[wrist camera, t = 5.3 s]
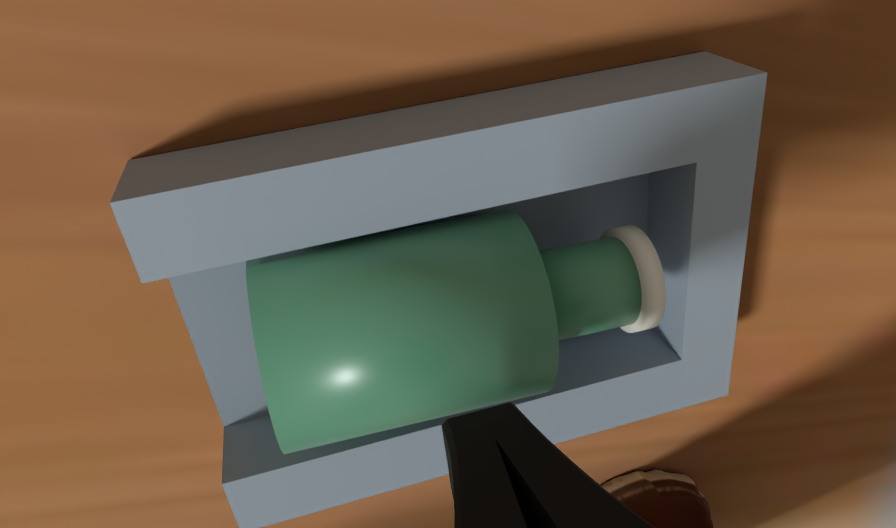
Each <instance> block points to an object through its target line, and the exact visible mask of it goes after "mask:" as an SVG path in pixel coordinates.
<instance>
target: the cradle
mask: <svg viewBox="0 0 896 528" xmlns="http://www.w3.org/2000/svg"><path fill="white" fill-rule="evenodd" d="M766 81H767V72H764V71H762V70H759V69H756V68H753V67H750V66H747V65H744V64H741V63H738V62H736V61H733V60H730V59H727V58H724V57H721V56H718V55H715V54H712V53H710V52H707V51H704V52H698V53H693V54H688V55H682V56H677V57H672V58H667V59H661V60H656V61H651V62H645V63H640V64H635V65H630V66H624V67H619V68H614V69H608V70H603V71H598V72H592V73H587V74H582V75H577V76H571V77H566V78H561V79H555V80H550V81H545V82H540V83H534V84H529V85H524V86H518V87H513V88H508V89H502V90H497V91H492V92H487V93H481V94H476V95H471V96H465V97H460V98H455V99H450V100H444V101H439V102H434V103H428V104H423V105H418V106H412V107H407V108H402V109H397V110H391V111H386V112H381V113H375V114H370V115H365V116H360V117H354V118H349V119H344V120H338V121H333V122H328V123H322V124H317V125H312V126H307V127H301V128H296V129H291V130H285V131H280V132H275V133H270V134H264V135H259V136H254V137H248V138H243V139H238V140H232V141H227V142H222V143H217V144H211V145H206V146H201V147H195V148H190V149H185V150H180V151H174V152H169V153H164V154H158V155H153V156H148V157H142V158H137V159H132V160H128V162H127V164H126V167H125V169H124V171H123V173H122V176H121V178H120V180H119V183H118V185H117V187H116V190H115V192H114V194H113V196H112V199H111V201H110V205H111V207H112V210H113V212H114V215H115V217H116V220H117V222H118V225H119V227H120V230H121V232H122V235H123V237H124V240H125V242H126V245H127V247H128V250H129V252H130V255H131V257H132V260H133V262H134V265H135V267H136V270H137V272H138V275H139V278H140V280H141V283H147V282H151V281H156V280H161V279H165V278H169V281H170V283H171V286H172V289H173V291H174V294H175V297H176V299H177V302H178V305H179V307H180V310H181V313H182V316H183V318H184V321H185V324H186V326H187V329H188V332H189V334H190V337H191V340H192V342H193V345H194V348H195V350H196V353H197V356H198V358H199V361H200V364H201V366H202V369H203V372H204V374H205V377H206V380H207V382H208V385H209V388H210V391H211V393H212V396H213V399H214V401H215V404H216V407H217V409H218V412H219V415H220V417H221V420H222V423H223V425H224V442H223V468H222V486H223V488H224V491H225V493H226V496H227V498H228V501H229V503H230V506H231V508H232V511H233V513H234V516H235V518H236V521H237V524H238V526H239V528H261V527H264V526H268V525H271V524H275V523H278V522H282V521H285V520H289V519H292V518H296V517H300V516H303V515H307V514H310V513H314V512H317V511H321V510H324V509H328V508H331V507H335V506H338V505H342V504H345V503H349V502H352V501H356V500H360V499H363V498H367V497H370V496H374V495H377V494H381V493H384V492H388V491H391V490H395V489H398V488H402V487H405V486H409V485H413V484H416V483H420V482H423V481H427V480H430V479H434V478H437V477H441V476H444V475H448V474H449V470H448V464H447V458H446V451H445V445H444V438H443V432H442V426H441V425H442V424H443V423H444V422H445V421H446V419H449V418H453V417H457V416H460V415H464V414H468V413H471V412H475V411H479V410H483V409H486V408H490V407H494V406H498V405H501V404H505V403H509V402H510V403H512V404H514V405H515V406H516V407H517V408H518V409H519V410H520V411H521V412H522V413H523V414H524V415H525V416H526V417H527V418H528V419H529V421H530V422H531V423H532V424H533V425H534V426H535V427H536V428H537V429H538V430H539V431H540V432H541V433H542V434H543V435H544V436H545V437H546V438H547V439H548V440H550V441H551V442H552V443H553V444H557V443H561V442H564V441H568V440H571V439H575V438H579V437H582V436H586V435H589V434H593V433H596V432H600V431H603V430H607V429H610V428H614V427H617V426H621V425H624V424H628V423H631V422H635V421H639V420H642V419H646V418H649V417H653V416H656V415H660V414H663V413H667V412H670V411H674V410H677V409H681V408H684V407H688V406H692V405H695V404H699V403H702V402H706V401H709V400H713V399H716V398H720V397H723V396H727V395H728V390H729V382H730V373H731V365H732V357H733V349H734V341H735V333H736V325H737V317H738V309H739V300H740V292H741V284H742V276H743V268H744V260H745V252H746V244H747V236H748V227H749V219H750V211H751V203H752V195H753V187H754V179H755V171H756V163H757V154H758V146H759V138H760V130H761V122H762V114H763V106H764V98H765V90H766ZM503 210H512V211H514V212H516V213H517V214H518V215H519V216H520V217H521V218H522V220H523V221H524V222H525V224H526V225H527V227H528V228H529V230H530V232H531V234H532V236H533V238H534V240H535V242H536V245H537V247H538V250H539V251H540V250H546V249H551V248H556V247H561V246H566V245H571V244H576V243H581V242H587V241H592V240H597V239H600V237H601V235H602V233H603V232H604V231H605V230H607V229H611V228H616V227H621V226H626V225H634V226H637V227H638V228H640V229H641V230H642V231H643V232H644V233H645V234H646V235H647V236H648V238H649V239H650V241H651V242H652V244H653V246H654V248H655V250H656V252H657V254H658V257H659V259H660V262H661V266H662V269H663V274H664V279H665V286H666V305H665V311H664V315H663V318H662V320H661V322H660V323H659V324H658V325H657V326H656V327H654V328H652V329H648V330H643V331H639V332H634V333H628V332H625V331H624V330H622V329H621V328H620V327H618V328H614V329H609V330H605V331H600V332H596V333H591V334H587V335H582V336H578V337H573V338H569V339H564V340H560V341H559V365H558V373H557V378H556V381H555V384H554V386H553V388H552V389H551V390H550V391H548V392H546V393H542V394H538V395H533V396H529V397H525V398H521V399H516V400H512V401H508V402H504V403H499V404H495V405H491V406H487V407H483V408H478V409H474V410H470V411H466V412H461V413H457V414H453V415H449V416H444V417H440V418H436V419H432V420H427V421H423V422H419V423H415V424H410V425H406V426H402V427H398V428H394V429H389V430H385V431H381V432H377V433H372V434H368V435H364V436H360V437H355V438H351V439H347V440H343V441H338V442H334V443H330V444H326V445H322V446H317V447H313V448H309V449H305V450H300V451H296V452H292V453H288V454H283V452H282V451H281V449H280V446H279V444H278V441H277V438H276V435H275V432H274V429H273V425H272V422H271V418H270V414H269V410H268V406H267V402H266V398H265V393H264V389H263V384H262V379H261V375H260V370H259V364H258V359H257V354H256V348H255V342H254V336H253V330H252V324H251V317H250V310H249V302H248V293H247V282H246V261H248V260H252V259H257V258H261V257H266V256H270V255H275V254H280V253H284V252H289V251H293V250H298V249H303V248H307V247H312V246H316V245H321V244H325V243H330V242H335V241H339V240H344V239H348V238H354V237H359V236H365V235H370V234H376V233H381V232H387V231H392V230H398V229H403V228H409V227H414V226H420V225H425V224H431V223H436V222H442V221H447V220H453V219H458V218H464V217H470V216H475V215H481V214H486V213H492V212H497V211H503Z"/></svg>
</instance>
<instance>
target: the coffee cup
mask: <svg viewBox="0 0 896 528" xmlns="http://www.w3.org/2000/svg"><path fill="white" fill-rule="evenodd" d="M601 487H603V488H604V489H605V490H606V491H607V492H609V493H610V494H611V495H613V496H614V497H615V498H616V499H618V500H619V501H620V502H622V503H623V504H624V505H625V506H627V507H628V508H629V509H631V510H632V511H633V512H635V513H636V514H637V515H639V516H640V517H641V518H643V519H644V520H646V521H647V522H648V523H650V524H651V525H653V526H654V527H656V528H713V524H712V521H711V515H710V509H709V505H708V503H707V501H706V499H705V497H704V495H703V494H702V493H701V492H700V491H698V489H697V487H696V484H695V482H694V481H693V480H692V479H691V478H689V477H688V476H687V475H685V474H679V473H667V472H663V471H662V470H653V471H648V472H643V471H636V472H632V473H630V474H627V475H624V476H620V477H617V478H614V479H612V480H610V481H608V482H606V483H604V484H603V485H601Z"/></svg>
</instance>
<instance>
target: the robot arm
mask: <svg viewBox="0 0 896 528" xmlns="http://www.w3.org/2000/svg"><path fill="white" fill-rule="evenodd" d="M441 426H442V432H443V438H444V445H445V451H446V458H447V464H448V470H449V477H450V483H451V489H452V495H453V498H454V509H455V526H454V528H656V527H654V526H653V525H651V524H650V523H648V522H647V521H646V520H644V519H643V518H641V517H640V516H639V515H637V514H636V513H635V512H633V511H632V510H631V509H629V508H628V507H627V506H625V505H624V504H623V503H622V502H620V501H619V500H618V499H616V498H615V497H614V496H613V495H611V494H610V493H609V492H607V491H606V490H605V489H604V488H603V487H601V486H600V485H599V484H598V483H596V482H595V481H594V480H593V479H592V478H591V477H589V476H588V475H587V474H586V473H585V472H584V471H583V470H581V469H580V468H579V467H578V466H577V465H576V464H574V463H573V462H572V461H571V460H570V459H569V458H568V457H567V456H566V455H564V454H563V453H562V452H561V451H560V450H559V449H558V448H557V447H556V446H555V445H554V444H553V443H552V442H551V441H550V440H548V439H547V438H546V437H545V436H544V435H543V434H542V433H541V432H540V431H539V430H538V429H537V428H536V427H535V426H534V425H533V424H532V423H531V422H530V421H529V419H528V418H527V417H526V416H525V415H524V414H523V413H522V412H521V411H520V410H519V409H518V408H517V407H516V406H515V405H514V404H512V403H510V402H509V403H505V404H501V405H498V406H494V407H490V408H486V409H483V410H479V411H475V412H471V413H468V414H464V415H460V416H457V417H453V418H449V419H446V421H445V422H444V423H443V424H442V425H441Z"/></svg>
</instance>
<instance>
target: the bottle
mask: <svg viewBox="0 0 896 528" xmlns="http://www.w3.org/2000/svg"><path fill="white" fill-rule="evenodd" d="M246 282H247V293H248V302H249V310H250V317H251V324H252V330H253V336H254V342H255V348H256V354H257V359H258V364H259V370H260V375H261V379H262V384H263V389H264V393H265V398H266V402H267V406H268V410H269V414H270V418H271V422H272V425H273V429H274V432H275V435H276V438H277V441H278V444H279V446H280V449H281V451H282V452H283V454H288V453H292V452H296V451H300V450H305V449H309V448H313V447H317V446H322V445H326V444H330V443H334V442H338V441H343V440H347V439H351V438H355V437H360V436H364V435H368V434H372V433H377V432H381V431H385V430H389V429H394V428H398V427H402V426H406V425H410V424H415V423H419V422H423V421H427V420H432V419H436V418H440V417H444V416H449V415H453V414H457V413H461V412H466V411H470V410H474V409H478V408H483V407H487V406H491V405H495V404H499V403H504V402H508V401H512V400H516V399H521V398H525V397H529V396H533V395H538V394H542V393H546V392H548V391H550V390H551V389H552V388H553V386H554V384H555V381H556V378H557V373H558V365H559V341H560V340H564V339H569V338H573V337H578V336H582V335H587V334H591V333H596V332H600V331H605V330H609V329H614V328H618V327H620V328H621V329H622V330H624V331H625V332H628V333H634V332H639V331H643V330H648V329H652V328H654V327H656V326H657V325H658V324H659V323H660V322H661V320H662V318H663V315H664V311H665V305H666V286H665V279H664V274H663V269H662V266H661V262H660V259H659V257H658V254H657V252H656V250H655V248H654V246H653V244H652V242H651V241H650V239H649V238H648V236H647V235H646V234H645V233H644V232H643V231H642V230H641V229H640V228H638V227H637V226H634V225H626V226H621V227H616V228H611V229H607V230H605V231H604V232H603V233H602V235H601V237H600V239H597V240H592V241H587V242H581V243H576V244H571V245H566V246H561V247H556V248H551V249H546V250H540V251H539V250H538V247H537V245H536V242H535V240H534V238H533V236H532V234H531V232H530V230H529V228H528V227H527V225H526V224H525V222H524V221H523V220H522V218H521V217H520V216H519V215H518V214H517V213H516V212H514V211H512V210H503V211H497V212H492V213H486V214H481V215H475V216H470V217H464V218H458V219H453V220H447V221H442V222H436V223H431V224H425V225H420V226H414V227H409V228H403V229H398V230H392V231H387V232H381V233H376V234H370V235H365V236H359V237H354V238H348V239H344V240H339V241H335V242H330V243H325V244H321V245H316V246H312V247H307V248H303V249H298V250H293V251H289V252H284V253H280V254H275V255H270V256H266V257H261V258H257V259H252V260H248V261H246Z"/></svg>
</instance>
